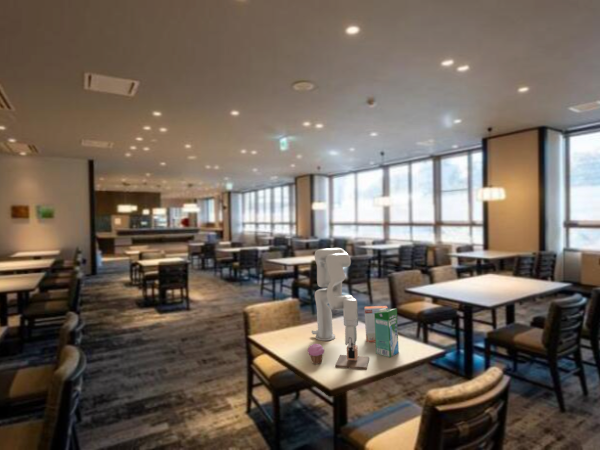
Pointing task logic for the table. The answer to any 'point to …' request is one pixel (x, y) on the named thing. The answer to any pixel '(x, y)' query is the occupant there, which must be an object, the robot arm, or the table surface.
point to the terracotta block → (354, 352)
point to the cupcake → (316, 353)
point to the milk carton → (386, 332)
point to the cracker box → (371, 321)
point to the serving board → (352, 362)
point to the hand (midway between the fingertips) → (352, 355)
